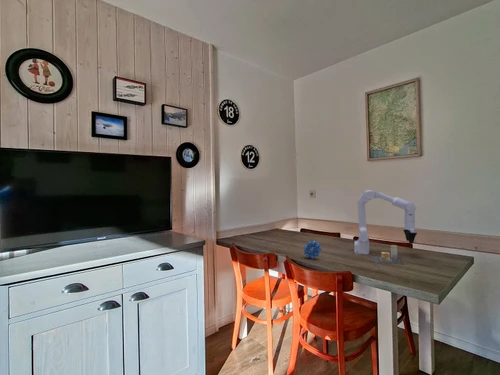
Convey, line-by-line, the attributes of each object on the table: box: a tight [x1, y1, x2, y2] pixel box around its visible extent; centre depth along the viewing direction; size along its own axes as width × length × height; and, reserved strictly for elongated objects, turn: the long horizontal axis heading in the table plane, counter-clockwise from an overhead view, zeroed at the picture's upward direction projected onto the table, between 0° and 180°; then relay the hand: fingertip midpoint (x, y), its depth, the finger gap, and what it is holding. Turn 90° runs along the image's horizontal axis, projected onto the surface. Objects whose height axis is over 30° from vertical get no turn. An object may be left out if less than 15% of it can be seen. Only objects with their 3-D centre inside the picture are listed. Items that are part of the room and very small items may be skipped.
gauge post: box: [390, 244, 398, 260], centre depth 165 cm, size 3×3×8 cm
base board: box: [370, 255, 405, 265], centre depth 162 cm, size 16×16×2 cm
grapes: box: [303, 240, 322, 260], centre depth 171 cm, size 12×7×12 cm, turn 63°
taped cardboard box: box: [380, 251, 391, 261], centre depth 159 cm, size 4×4×5 cm
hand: (409, 241), depth 170 cm, fingers open, 7 cm apart
